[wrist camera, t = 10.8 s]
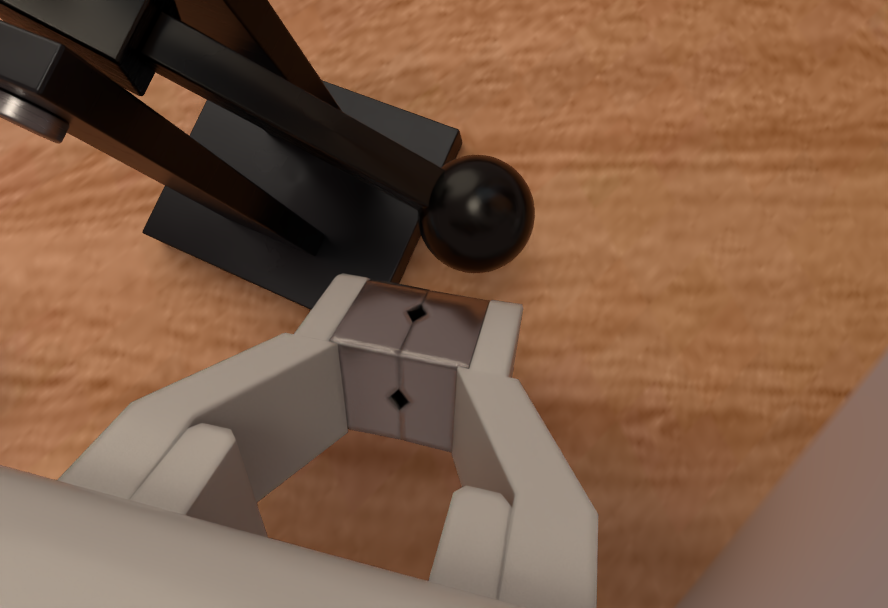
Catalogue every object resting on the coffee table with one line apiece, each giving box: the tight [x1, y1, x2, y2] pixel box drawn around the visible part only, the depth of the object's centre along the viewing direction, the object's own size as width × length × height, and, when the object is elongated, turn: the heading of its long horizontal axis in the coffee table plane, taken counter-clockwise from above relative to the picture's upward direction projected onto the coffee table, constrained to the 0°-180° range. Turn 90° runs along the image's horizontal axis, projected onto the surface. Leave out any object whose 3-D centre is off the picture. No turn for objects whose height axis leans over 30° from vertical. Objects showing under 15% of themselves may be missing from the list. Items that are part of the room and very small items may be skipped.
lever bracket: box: [0, 0, 462, 310], centre depth 16 cm, size 11×9×14 cm
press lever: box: [0, 0, 535, 273], centre depth 13 cm, size 13×3×3 cm, turn 66°
